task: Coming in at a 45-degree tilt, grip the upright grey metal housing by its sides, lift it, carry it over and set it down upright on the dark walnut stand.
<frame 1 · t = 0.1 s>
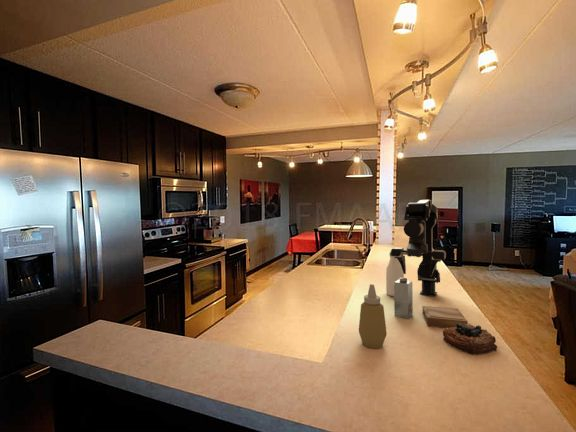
hand: (417, 275, 107), 15 cm above the countertop, tool pointing down, fingers open, 9 cm apart
squeeze bottle: (372, 344, 84), on the countertop
milk bottle: (395, 294, 131), on the countertop
pastry: (469, 346, 82), on the countertop
housing: (403, 315, 105), on the countertop
stand: (443, 321, 99), on the countertop
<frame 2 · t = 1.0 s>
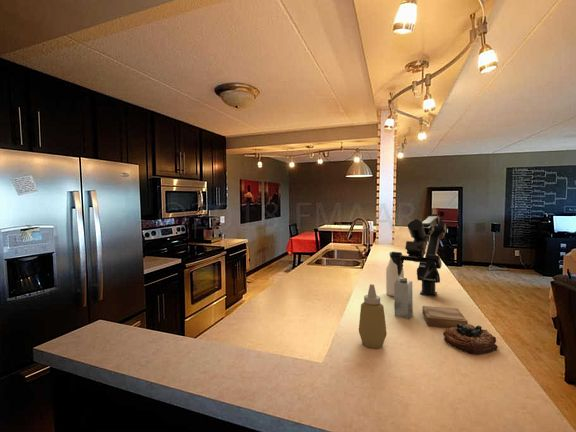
hand: (410, 276, 111), 13 cm above the countertop, tool tilted 45°, fingers open, 9 cm apart
nothing on the countertop moved.
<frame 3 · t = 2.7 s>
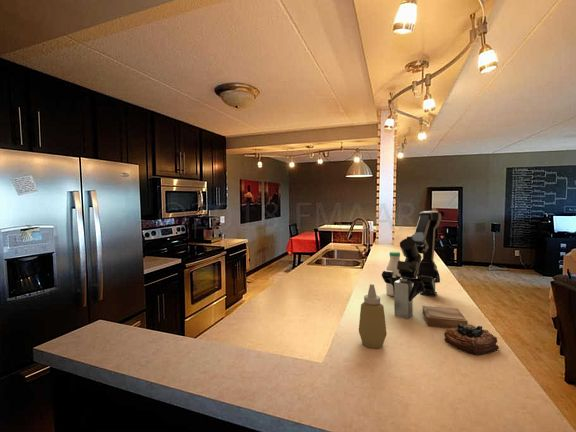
hand: (402, 299, 104), 7 cm above the countertop, tool tilted 45°, fingers closed on housing, 5 cm apart
housing: (403, 315, 105), on the countertop, touching gripper
everything else where it was.
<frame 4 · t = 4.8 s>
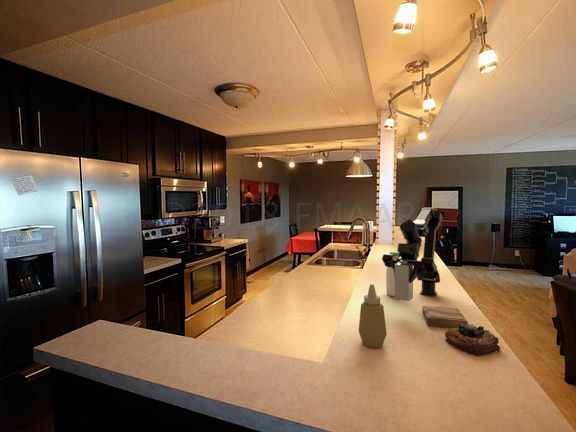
hand: (402, 281, 104), 13 cm above the countertop, tool tilted 45°, fingers closed on housing, 5 cm apart
housing: (403, 298, 105), point 7 cm above the countertop, touching gripper
everything else where it was.
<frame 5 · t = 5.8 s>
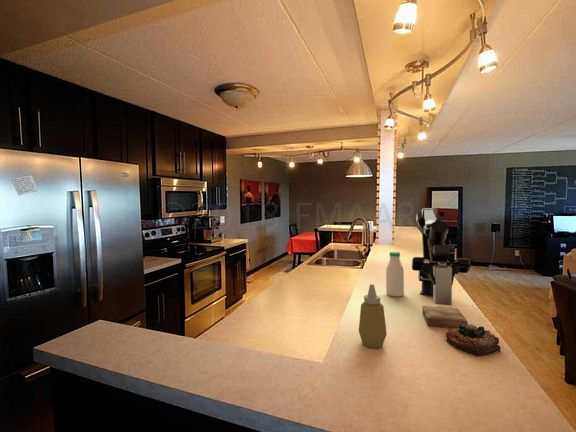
hand: (443, 284, 98), 13 cm above the countertop, tool tilted 45°, fingers closed on housing, 5 cm apart
housing: (442, 302, 99), point 7 cm above the countertop, touching gripper
everything else where it was.
when the fingers open (11 cm above the countertop, at t = 6.7 s): housing drops 1 cm, resting on stand.
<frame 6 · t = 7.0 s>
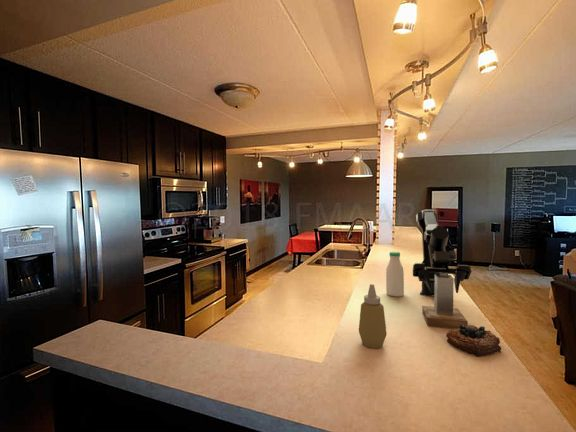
hand: (444, 291, 98), 11 cm above the countertop, tool tilted 45°, fingers open, 8 cm apart
housing: (443, 312, 99), point 3 cm above the countertop, touching stand
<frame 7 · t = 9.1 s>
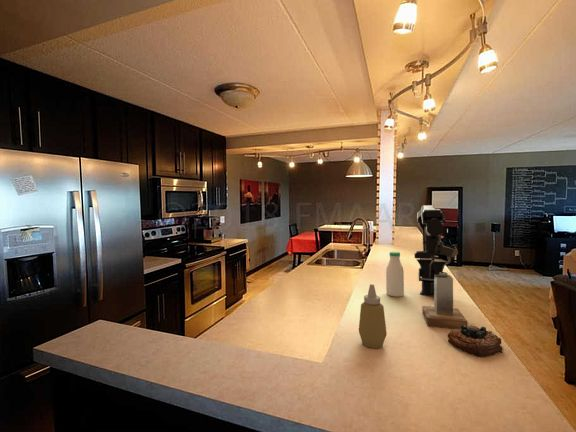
hand: (433, 278, 110), 13 cm above the countertop, tool pointing down, fingers open, 9 cm apart
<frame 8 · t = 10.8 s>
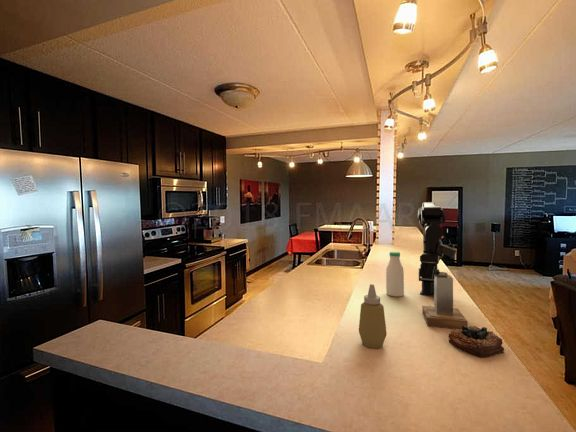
hand: (432, 276, 112), 13 cm above the countertop, tool pointing down, fingers open, 9 cm apart
at the end: housing inside the target area on the stand (0.1 cm from its centre), point 3.2 cm above the stand's base; housing tilted 0°; the gripper is holding nothing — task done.
